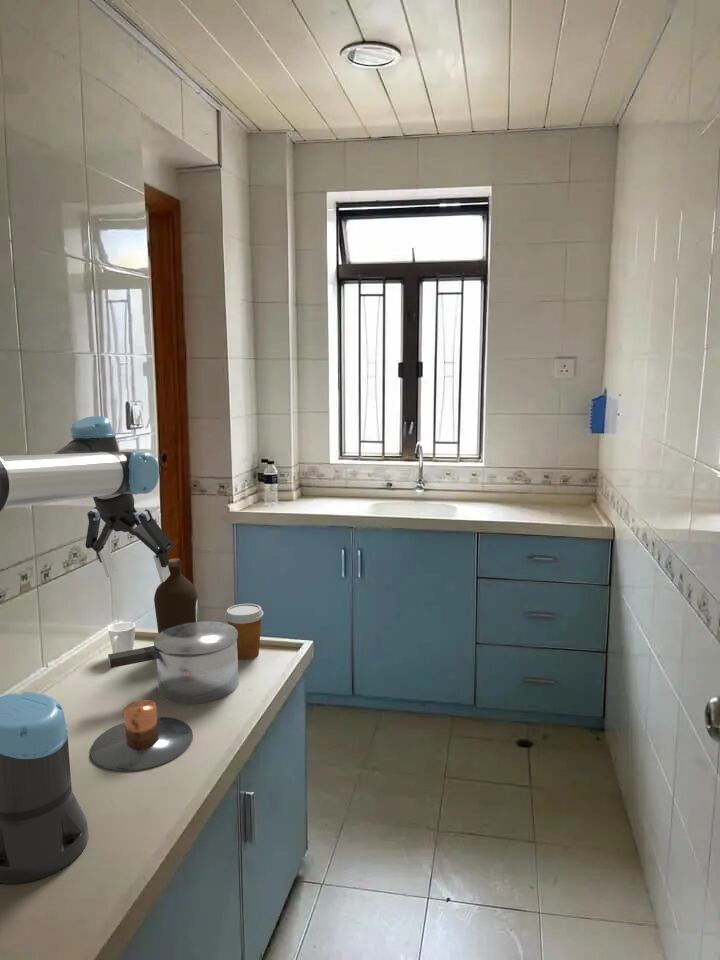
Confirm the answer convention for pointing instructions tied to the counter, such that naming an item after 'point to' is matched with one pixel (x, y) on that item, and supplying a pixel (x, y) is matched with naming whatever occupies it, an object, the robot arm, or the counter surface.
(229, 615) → the disposable coffee cup
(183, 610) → the olive oil
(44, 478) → the robot arm
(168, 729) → the cooker lid
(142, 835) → the counter surface
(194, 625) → the cooker body
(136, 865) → the counter surface
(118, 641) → the cup
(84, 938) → the counter surface
